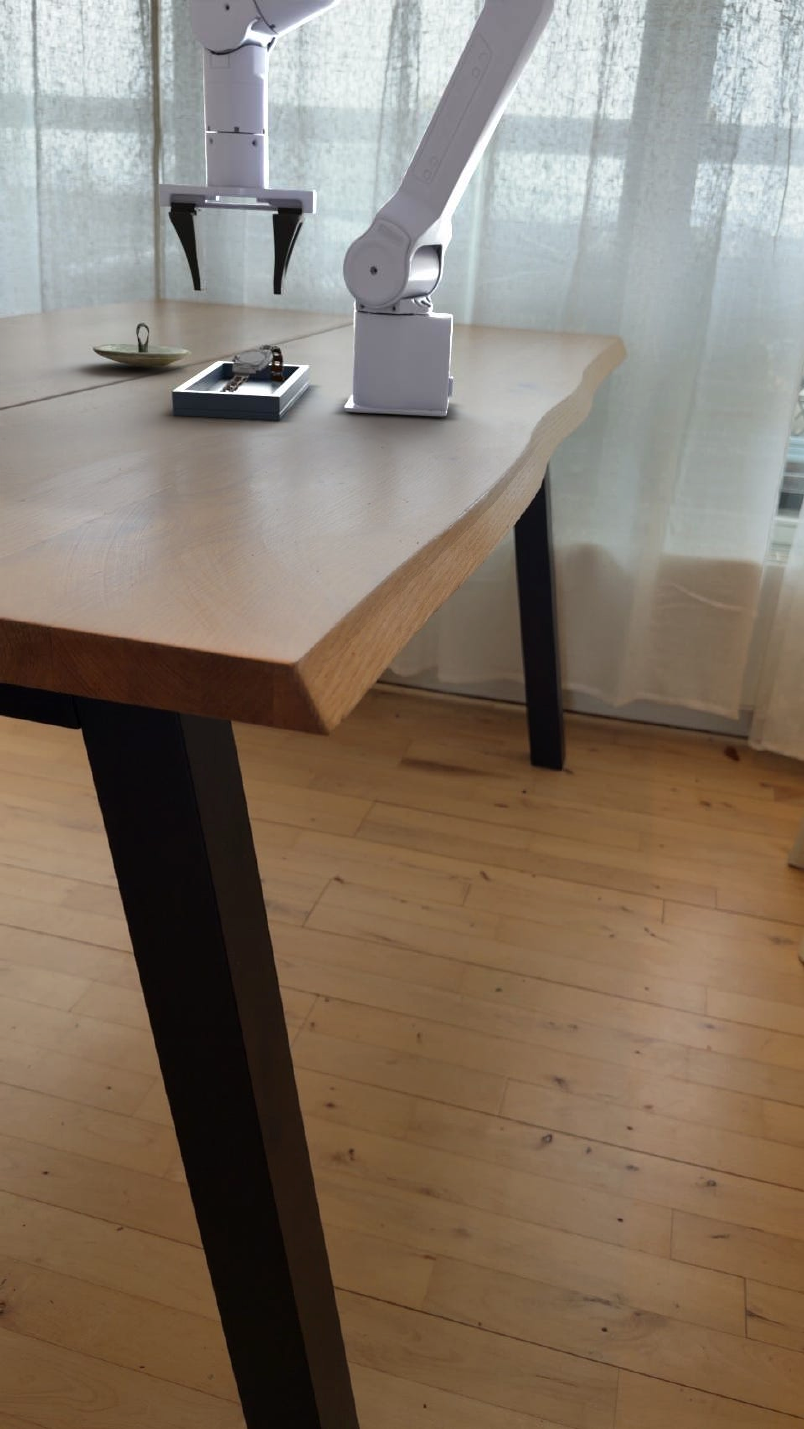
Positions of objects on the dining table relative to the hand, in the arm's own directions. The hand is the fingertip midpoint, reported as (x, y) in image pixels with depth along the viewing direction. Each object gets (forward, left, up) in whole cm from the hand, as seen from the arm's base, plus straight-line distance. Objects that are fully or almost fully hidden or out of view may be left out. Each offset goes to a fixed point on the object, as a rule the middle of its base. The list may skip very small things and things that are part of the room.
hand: (239, 292), depth 110 cm
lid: (+14, -13, -10) cm, 22 cm away
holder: (-1, +4, -10) cm, 10 cm away
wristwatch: (-1, +5, -9) cm, 10 cm away
